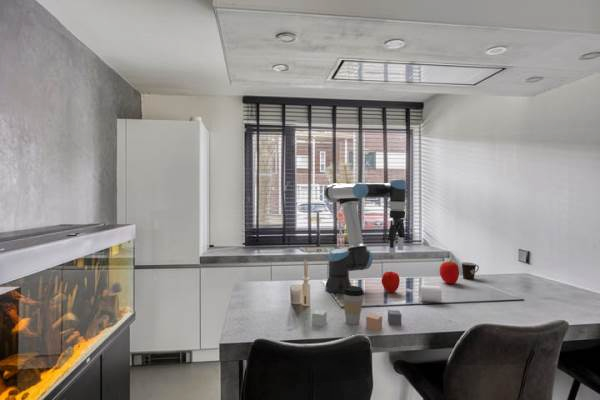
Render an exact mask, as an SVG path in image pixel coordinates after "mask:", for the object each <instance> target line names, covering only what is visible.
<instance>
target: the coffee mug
mask: <svg viewBox="0 0 600 400" xmlns="http://www.w3.org/2000/svg"><path fill="white" fill-rule="evenodd" d="M476 268H477V269H476ZM479 269H480V267H479V265H478V264H476V263H473V262H461V270H462V278H463V279H464V280H468V281H473V280H474V279H475V275H476V273H477V272H478V271H479Z"/></svg>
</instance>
